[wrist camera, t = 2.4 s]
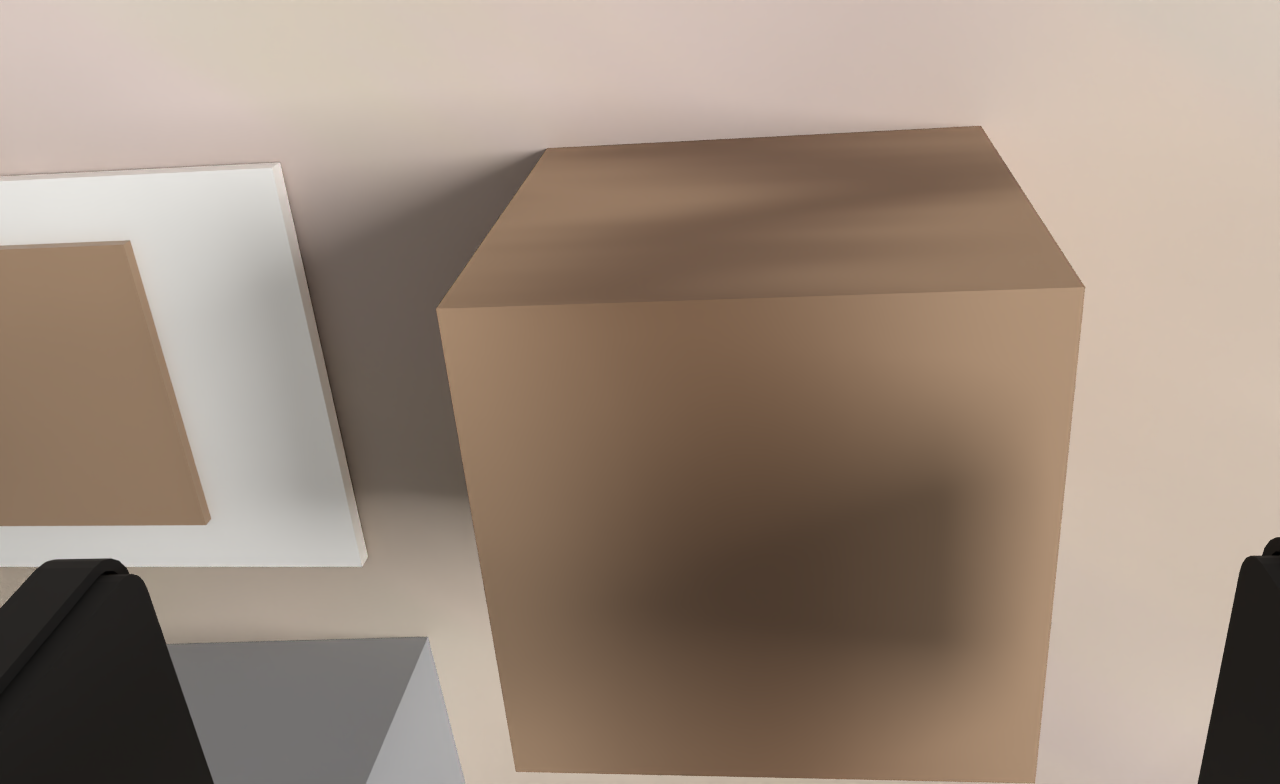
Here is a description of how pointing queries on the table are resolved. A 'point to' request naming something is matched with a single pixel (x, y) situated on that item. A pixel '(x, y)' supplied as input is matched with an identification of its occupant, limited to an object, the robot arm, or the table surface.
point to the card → (164, 376)
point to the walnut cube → (769, 456)
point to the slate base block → (319, 711)
